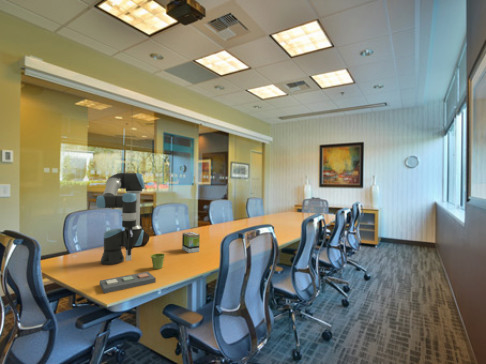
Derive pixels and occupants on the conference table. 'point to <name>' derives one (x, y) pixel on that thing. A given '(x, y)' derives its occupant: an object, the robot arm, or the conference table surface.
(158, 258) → the plant pot
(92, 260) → the conference table surface
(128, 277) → the sage button
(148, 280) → the button board
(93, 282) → the conference table surface
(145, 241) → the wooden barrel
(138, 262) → the conference table surface
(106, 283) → the cream button
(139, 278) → the terracotta button
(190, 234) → the tea box
